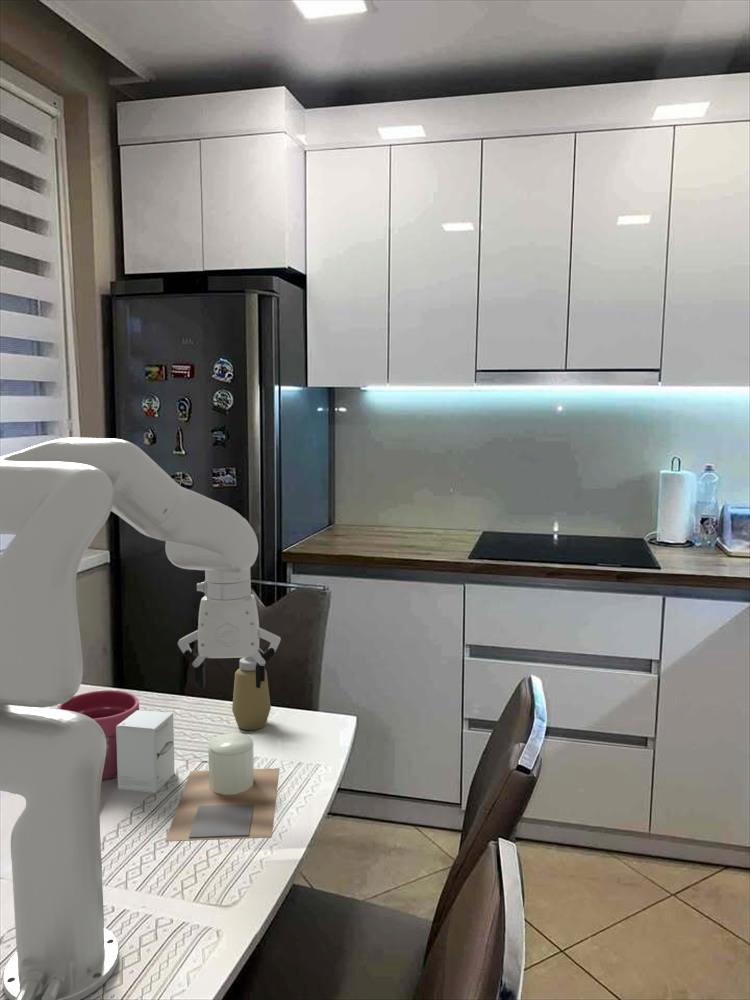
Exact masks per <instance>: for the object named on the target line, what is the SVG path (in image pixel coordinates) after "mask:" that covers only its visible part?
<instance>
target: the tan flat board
mask: <svg viewBox="0 0 750 1000" xmlns="http://www.w3.org/2000/svg"><path fill="white" fill-rule="evenodd" d="M279 775H280V768H279V767H278V768H277V767H275V768H254V782H253V786H252V787H250V788H249V789H248V790H247V791H244V792H241V793H237V794H226V795H223V794H219V793H216V792H213V791H212V790H211V788H210V787H209V770H190V771H189V774H188V777H187V780H186V782H185V784H184V788H183V791H182V793H181V796H180V798H179V801H178V803H177V807H176V810H175V812H174V815H173V818H172V820H171V824H170V826H169V829H168V832H167V834H166V837H165V842H182V841H184V842H185V841H187V842H188V841H209V840H210V841H211V840H212V841H214V840H228V839H229V840H234V839H235V840H237V839H260V838H261V839H262V838H263V839H264V838H273V837H272V836H273V828H274V818H275V810H276V803H277V802H276V800H277V794H278V793H277V792H278V783H279Z"/></svg>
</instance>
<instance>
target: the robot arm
mask: <svg viewBox="0 0 750 1000" xmlns="http://www.w3.org/2000/svg"><path fill="white" fill-rule="evenodd" d="M111 512H112V513H113V514H115V515H117V516H118V517H119V518H120V519H121V520H123V521H125V522H126V523H127V524H128V525H130V526H131V527H133V528H134V529H135V530H136V531H137V532H139V533H140V534H142V535H144V536H146V537H148V538H152V539H156V540H159V541H163V542H165V554H166V557H167V559H168V561H170V562H171V564H172V565H174V566H175V567H178V568H180V569H185V570H192V571H195V570H196V571H204V576H205V577H204V578H205V579H204V581H203V582H197V583H196V591H197V592H202V593H203V594H204V596H203V597H201V599H200V603H199V610H198V621H197V623H198V625H197V629H196V630H195V631H193V632H190V633H189V634H186V635H185V636H183V637H182V638H180V639H179V640H178V642H177V646H178V647H179V649H180V651H181V652H182V653H183V654H182V655H183V657H184V658H185V659H186V660H187V661H188V662H190V664H192V666H193V667H194V672H195V673H194V680H195V684H198V690H200V691H201V690H202V691H203V690H204V689H205V687H206V684H207V676H206V675H207V674H206V672H207V671H206V669H207V668H206V662H205V660H206V659H233V658H235V659H238V658H239V659H241V658H244V657H253V658H254V659H255V660H256V661H257V663H256V687H257V688H260V687H261V682H262V681H265V669H266V663H267V662H268V661H269V660H270V659H271V658H272V657H273V656H274V655H275V653H276V652H277V650H278V647H279V645H280V643H281V640H282V639H281V637H280V636H279V635H276V634H275V633H272V632H270V631H268V630H266V629H264V628H262V627H260V620H259V619H260V618H259V612H258V606H257V601H256V597H255V594H252V589H251V587H252V584H251V583H252V582H251V581H252V579H251V567H253V566H254V564H255V562H256V560H257V557H258V554H259V542H258V538H257V535H256V532H255V531H254V529H253V527H252V526H251V524H250V523H249V522H248V520H247V519H246V518H245V517H243V516H242V515H241V514H240V513H239V512H237V511H236V510H235V509H233V508H232V507H229V506H228V505H227V504H226V505H225V504H223V503H221V502H220V501H217V500H214V499H212V498H210V497H208V496H205V495H203V494H201V493H198V492H196V491H194V490H191V489H188V488H186V487H183V486H181V485H180V484H179V483H177V482H176V481H175V479H173V478H172V477H171V476H170V475H169V474H168V473H167V471H165V470H164V469H163V468H161V466H160V465H159V464H157V462H155V461H154V460H153V459H152V458H151V457H150V456H149V454H147V453H146V452H144V451H143V449H141V448H140V447H139V446H137V445H136V444H134V443H132V442H130V441H128V440H124V439H120V438H109V437H108V438H106V437H105V438H103V437H102V438H101V437H99V438H96V437H94V438H93V437H64V438H58V439H54V440H50V441H46V442H43V443H39V444H37V445H33V446H31V447H28V448H25V449H22V450H19V451H16V452H13V453H10V454H6V455H2V456H0V535H15V536H14V537H13V538H12V540H11V541H10V542H9V543H8V545H7V546H6V547H5V549H4V550H3V552H2V553H1V554H0V791H1V792H5V793H10V794H14V795H18V796H22V797H23V798H24V799H25V807H24V809H23V811H22V812H21V814H20V815H19V817H18V818H17V820H16V821H15V823H14V825H13V827H12V830H11V834H10V857H11V869H12V870H11V874H12V890H13V892H12V893H13V907H14V908H13V909H14V926H15V944H16V945H15V946H16V948H15V949H16V952H15V953H14V954H13V955H12V956H11V958H10V959H9V961H8V962H7V964H6V966H5V968H4V971H3V977H2V978H3V979H2V985H3V992H4V994H5V996H6V998H7V999H8V1000H82V999H84V998H86V997H88V996H89V995H91V994H93V993H94V992H96V991H97V990H98V989H99V988H100V987H102V986H104V984H105V983H106V982H107V980H109V978H111V976H112V975H113V974H114V971H115V970H116V968H117V965H118V963H119V957H120V949H119V948H120V947H119V942H118V940H117V937H116V936H115V935H114V934H113V933H112V932H111V930H108V929H107V928H105V915H104V891H103V868H102V867H103V865H102V842H101V841H102V840H101V819H100V818H101V813H100V809H101V808H100V805H101V789H102V774H103V769H104V763H105V757H106V738H105V734H104V732H103V730H102V728H101V727H100V725H99V724H98V723H97V722H96V721H94V720H93V719H92V718H90V717H88V716H86V715H83V714H80V713H77V712H73V711H69V710H62V709H57V708H53V707H58V705H61V704H63V703H65V702H67V701H69V700H70V699H71V698H72V697H73V696H76V694H77V693H78V691H79V689H80V687H81V685H82V682H83V681H82V680H83V672H84V663H83V660H84V659H83V651H82V650H83V649H82V641H81V631H80V623H79V614H78V613H79V612H78V605H77V590H76V589H77V586H76V583H77V582H76V581H77V574H78V570H79V567H80V564H81V562H82V560H83V558H84V555H85V553H86V551H87V550H88V548H89V547H90V545H91V543H92V542H93V540H94V539H95V537H96V536H97V535H98V533H99V532H100V530H102V527H103V526H104V525H105V523H106V521H107V520H108V518H109V517H110V514H111ZM261 639H262V640H265V641H267V642H268V643H270V644H269V646H268V648H267V649H266V650H265V651H263V650H262V648H260V641H261ZM195 641H197V653H196V652H195V650H193V649H192V648H191V647H190V644H191V643H192V642H195Z"/></svg>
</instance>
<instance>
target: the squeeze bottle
mask: <svg viewBox="0 0 750 1000" xmlns="http://www.w3.org/2000/svg"><path fill="white" fill-rule="evenodd" d="M256 663H257V661H256V660H255V659H254V658H253V657H243V658H239V668H238V669H237V670H236V671H235V672H234V682H233V683H234V684H233V695H232V696H233V697H232V704H231V705H232V707H231V709H232V713H233V717H234V719H235V722H236V726H237V727H238V728H239V729H241V730H244V731H255V730H260V729H262V728H264V727H265V726H266V724H267V721H268V719H269V715H270V713H271V709H272V705H271V700H270V689H269V681H268V673H267V672H268V671H267V670H266V668H265V681H262V682H261V687H260V688H257V687H256Z"/></svg>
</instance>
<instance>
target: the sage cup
mask: <svg viewBox="0 0 750 1000" xmlns="http://www.w3.org/2000/svg"><path fill="white" fill-rule="evenodd" d="M207 753H208V771H209V787H210V788H211V790H212V791H213V792H216V793H219V794H223V795H226V794H237V793H241V792H244V791H247V790H248V789H249V788H250V787H252V786H253V782H254V769H255V767H254V765H255V763H254V759H255V757H254V756H255V755H254V740H253V738H252V737H251V736H250V735H248V734H244V733H239V732H238V733H237V732H232V733H231V732H230V733H225V734H224V733H223V734H220V735H218V736H215V737H214V738H212V739H210V741H209V743H208V751H207Z"/></svg>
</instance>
